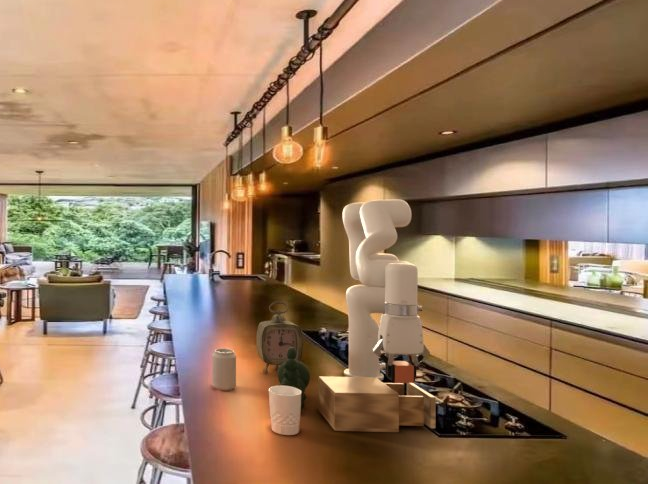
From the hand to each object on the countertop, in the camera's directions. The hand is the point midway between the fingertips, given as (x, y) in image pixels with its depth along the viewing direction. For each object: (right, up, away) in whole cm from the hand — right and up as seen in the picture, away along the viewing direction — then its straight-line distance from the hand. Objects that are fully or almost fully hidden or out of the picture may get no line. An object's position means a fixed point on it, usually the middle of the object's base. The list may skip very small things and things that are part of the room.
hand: (400, 378), depth 126 cm
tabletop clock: (-20, -11, +46) cm, 51 cm away
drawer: (0, -10, 0) cm, 10 cm away
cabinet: (-12, -11, 0) cm, 16 cm away
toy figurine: (-24, -11, +14) cm, 30 cm away
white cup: (-32, -11, -6) cm, 34 cm away
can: (-42, -11, +28) cm, 52 cm away
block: (0, 0, 0) cm, 0 cm away
